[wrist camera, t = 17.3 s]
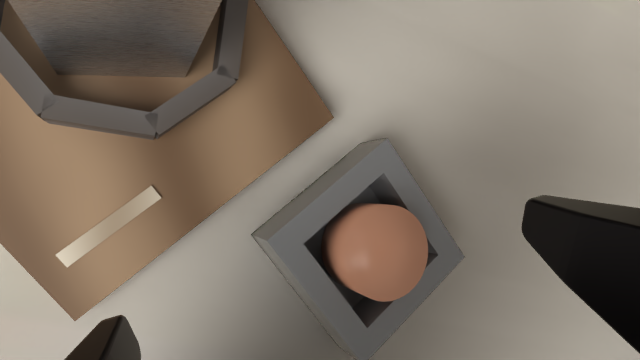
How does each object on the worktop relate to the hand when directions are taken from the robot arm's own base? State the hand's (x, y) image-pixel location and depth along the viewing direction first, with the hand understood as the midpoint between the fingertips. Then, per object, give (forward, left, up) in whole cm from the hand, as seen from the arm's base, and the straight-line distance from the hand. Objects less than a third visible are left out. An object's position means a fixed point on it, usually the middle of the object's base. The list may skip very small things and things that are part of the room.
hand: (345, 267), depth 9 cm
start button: (+4, -4, -10) cm, 11 cm away
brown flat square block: (0, +8, -11) cm, 13 cm away
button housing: (+4, -4, -11) cm, 12 cm away
